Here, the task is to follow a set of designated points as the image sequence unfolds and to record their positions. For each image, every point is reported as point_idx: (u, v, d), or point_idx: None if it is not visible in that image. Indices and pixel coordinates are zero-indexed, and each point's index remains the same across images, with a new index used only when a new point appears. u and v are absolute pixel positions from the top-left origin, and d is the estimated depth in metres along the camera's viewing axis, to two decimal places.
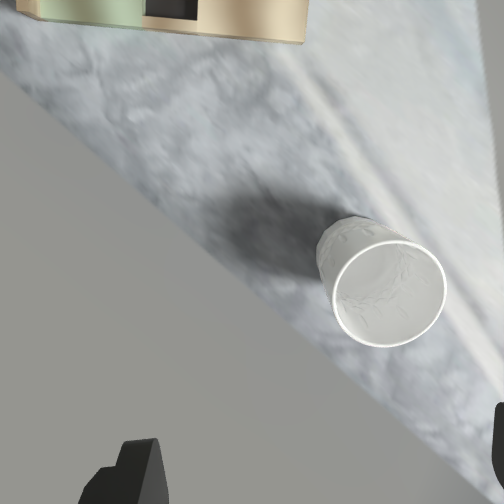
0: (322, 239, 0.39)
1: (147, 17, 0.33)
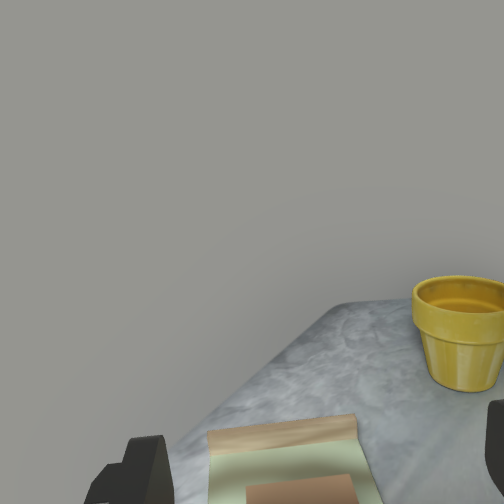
0: None
1: None
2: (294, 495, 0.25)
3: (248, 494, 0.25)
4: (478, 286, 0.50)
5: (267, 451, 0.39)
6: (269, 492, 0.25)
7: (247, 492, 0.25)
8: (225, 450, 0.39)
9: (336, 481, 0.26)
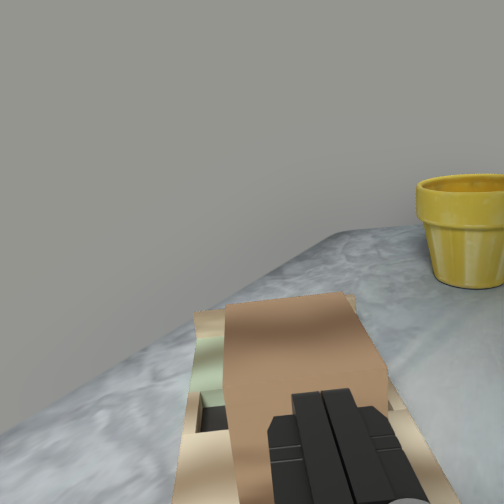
0: None
1: (198, 394, 0.29)
2: (279, 307, 0.22)
3: (228, 309, 0.22)
4: (487, 183, 0.47)
5: None
6: (251, 307, 0.22)
7: (227, 308, 0.22)
8: (213, 332, 0.36)
9: (327, 296, 0.23)
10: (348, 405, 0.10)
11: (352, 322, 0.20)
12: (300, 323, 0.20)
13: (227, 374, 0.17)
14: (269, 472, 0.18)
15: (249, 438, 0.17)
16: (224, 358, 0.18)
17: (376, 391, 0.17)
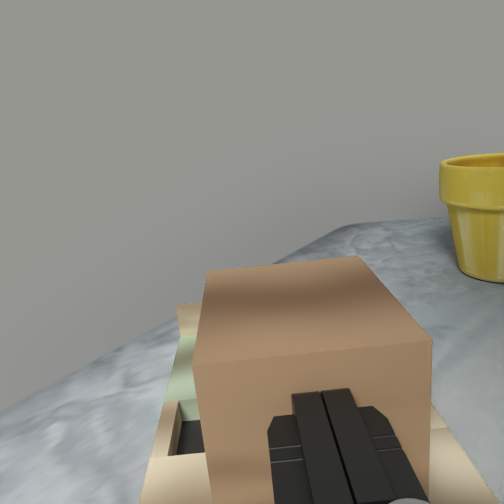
0: None
1: (175, 404, 0.23)
2: (276, 273, 0.17)
3: (210, 276, 0.17)
4: None
5: None
6: (241, 273, 0.17)
7: (209, 274, 0.17)
8: None
9: (338, 261, 0.17)
10: (348, 405, 0.10)
11: (374, 287, 0.15)
12: (303, 289, 0.15)
13: (200, 350, 0.12)
14: (260, 491, 0.12)
15: (231, 443, 0.12)
16: (199, 330, 0.13)
17: (414, 375, 0.11)
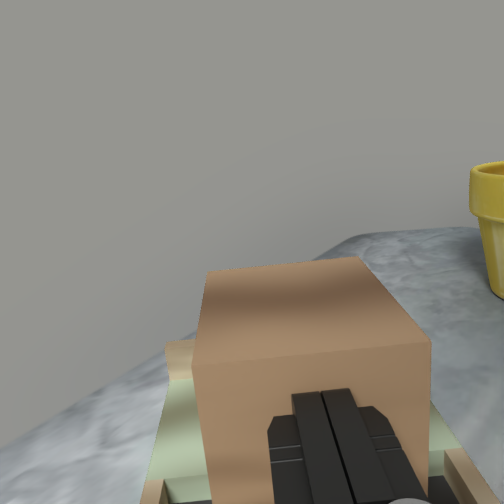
0: None
1: (159, 486, 0.18)
2: (276, 273, 0.17)
3: (210, 276, 0.17)
4: None
5: None
6: (240, 273, 0.17)
7: (209, 275, 0.17)
8: None
9: (338, 261, 0.17)
10: (348, 405, 0.10)
11: (374, 288, 0.15)
12: (303, 290, 0.15)
13: (200, 350, 0.12)
14: (259, 492, 0.12)
15: (231, 444, 0.12)
16: (198, 331, 0.13)
17: (413, 376, 0.11)
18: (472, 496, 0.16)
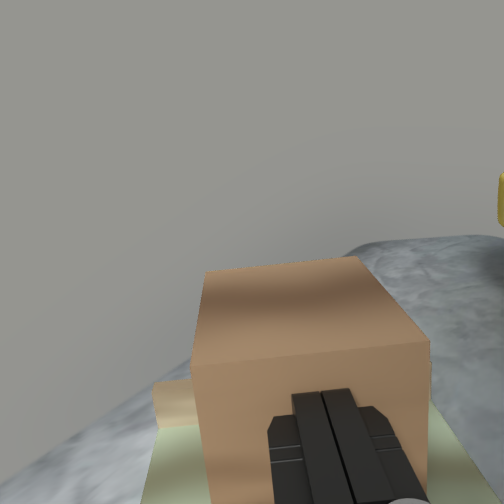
0: None
1: None
2: (275, 273, 0.17)
3: (208, 276, 0.17)
4: None
5: None
6: (239, 273, 0.17)
7: (207, 275, 0.17)
8: (186, 418, 0.21)
9: (337, 261, 0.17)
10: (348, 405, 0.10)
11: (372, 288, 0.15)
12: (302, 289, 0.15)
13: (198, 351, 0.12)
14: (258, 492, 0.12)
15: (229, 444, 0.12)
16: (197, 331, 0.13)
17: (412, 376, 0.11)
18: None
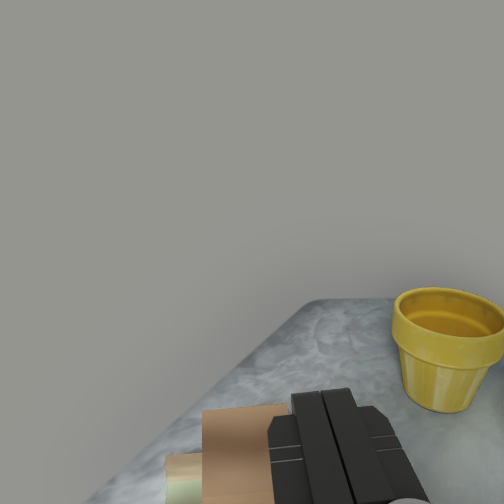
0: None
1: None
2: (240, 418, 0.31)
3: (204, 416, 0.31)
4: (462, 300, 0.47)
5: None
6: (221, 415, 0.31)
7: (203, 415, 0.32)
8: (184, 477, 0.36)
9: (274, 408, 0.32)
10: (348, 405, 0.10)
11: None
12: (254, 437, 0.30)
13: (205, 486, 0.26)
14: None
15: None
16: (202, 470, 0.27)
17: None
18: None
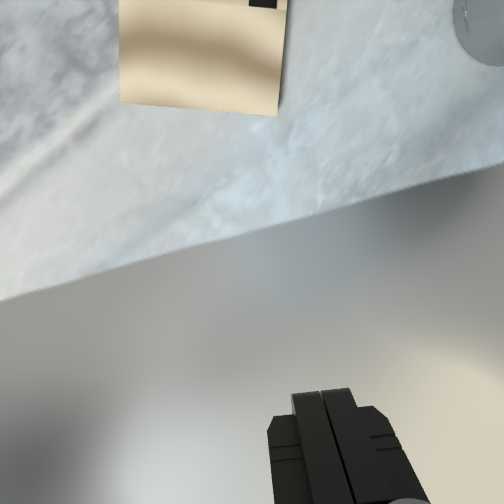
0: None
1: None
2: None
3: None
4: None
5: None
6: None
7: None
8: None
9: None
10: (348, 405, 0.10)
11: None
12: None
13: None
14: None
15: None
16: None
17: None
18: None
